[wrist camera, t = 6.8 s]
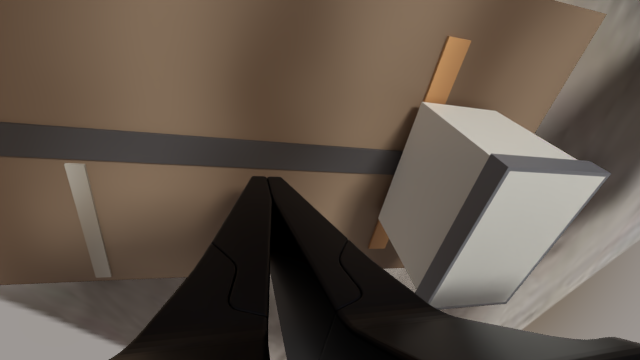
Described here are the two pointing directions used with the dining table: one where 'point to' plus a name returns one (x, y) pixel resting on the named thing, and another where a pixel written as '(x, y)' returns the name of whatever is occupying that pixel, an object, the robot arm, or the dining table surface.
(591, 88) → the dining table surface
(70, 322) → the dining table surface
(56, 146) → the fader console
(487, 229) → the fader tab
